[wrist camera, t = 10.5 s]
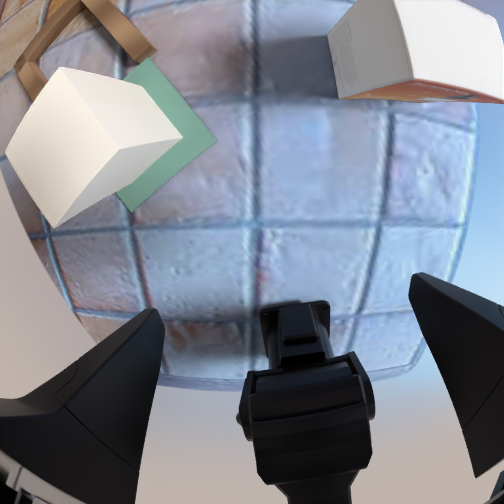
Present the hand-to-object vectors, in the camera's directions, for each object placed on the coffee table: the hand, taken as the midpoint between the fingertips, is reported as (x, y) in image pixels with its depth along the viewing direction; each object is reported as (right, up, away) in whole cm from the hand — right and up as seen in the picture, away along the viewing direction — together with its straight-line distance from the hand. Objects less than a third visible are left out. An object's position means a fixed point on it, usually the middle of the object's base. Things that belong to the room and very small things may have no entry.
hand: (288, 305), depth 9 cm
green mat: (-10, +11, +9) cm, 17 cm away
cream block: (-10, +11, +9) cm, 17 cm away
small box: (+9, +16, +7) cm, 19 cm away
